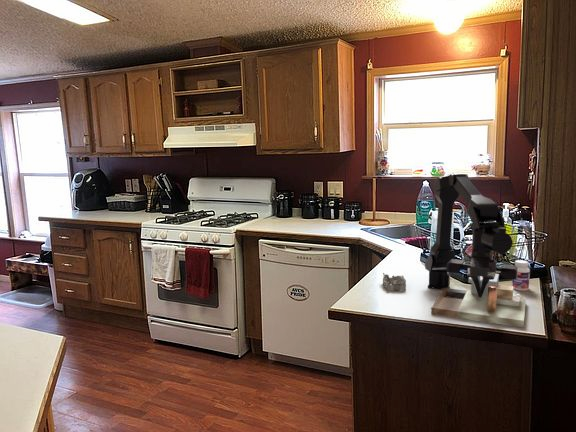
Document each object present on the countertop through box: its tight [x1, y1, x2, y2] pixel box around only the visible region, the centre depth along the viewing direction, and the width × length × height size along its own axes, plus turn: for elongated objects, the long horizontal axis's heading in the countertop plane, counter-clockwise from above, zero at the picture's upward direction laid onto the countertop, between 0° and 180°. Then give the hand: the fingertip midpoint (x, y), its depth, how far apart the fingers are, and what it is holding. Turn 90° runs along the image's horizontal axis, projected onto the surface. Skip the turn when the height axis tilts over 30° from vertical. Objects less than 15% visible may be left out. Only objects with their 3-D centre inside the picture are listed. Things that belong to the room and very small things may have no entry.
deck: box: [430, 287, 527, 329], centre depth 143 cm, size 25×21×2 cm
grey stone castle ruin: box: [382, 272, 407, 292], centre depth 167 cm, size 11×8×4 cm
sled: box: [487, 286, 521, 312], centre depth 139 cm, size 8×15×7 cm, turn 152°
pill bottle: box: [511, 259, 531, 292], centre depth 161 cm, size 5×5×10 cm
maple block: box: [497, 284, 514, 300], centre depth 143 cm, size 4×4×4 cm
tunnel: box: [468, 273, 500, 295], centre depth 146 cm, size 8×9×7 cm
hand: (480, 297), depth 136 cm, fingers closed
